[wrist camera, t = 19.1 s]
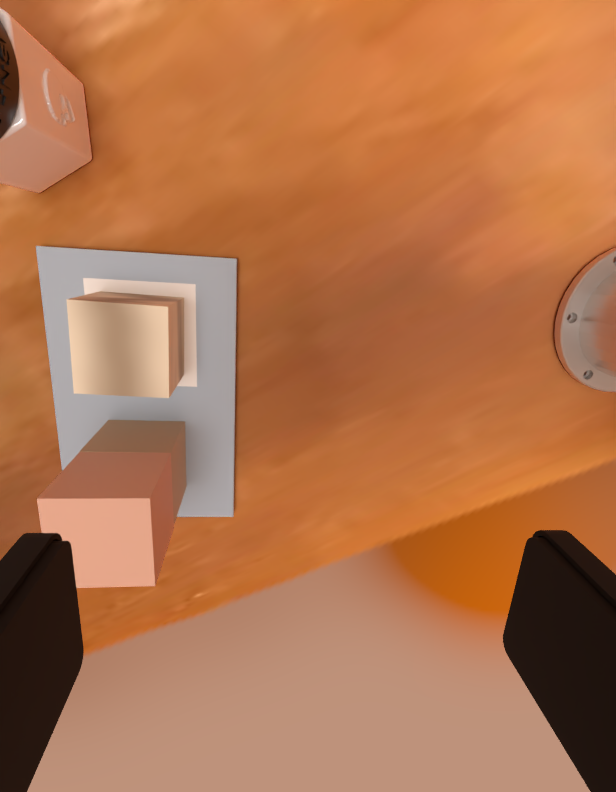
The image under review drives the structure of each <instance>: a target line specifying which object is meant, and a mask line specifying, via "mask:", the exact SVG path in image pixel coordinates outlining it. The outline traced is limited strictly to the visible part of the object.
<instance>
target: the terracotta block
mask: <svg viewBox="0 0 616 792" xmlns="http://www.w3.org/2000/svg"><path fill="white" fill-rule="evenodd" d="M37 503H38V510H39V517H40V524H41V530H42V533H58V534H60V536H61V537H62V541H69V542H70V544H71V547H72V556H73V564H74V573H75V581H76V588H91V587H133V586H155V585H156V582H157V579H158V576H159V573H160V569H161V566H162V563H163V560H164V557H165V554H166V551H167V548H168V545H169V541H170V538H171V535H172V532H173V529H174V516H173V493H172V469H171V453H144V452H79V453H78V454H77V455H76V456H75V458H74V459H73V460H72V461H71V462H70V463H69V464H68V465H67V466H66V467H65V468H64V470H63V471H62V472H61V473H60V474H59V475H58V476H57V477H56V478H55V479H54V480H53V482H52V483H51V484H50V485H49V486H48V487H47V488H46V489H45V490H44V491H43V492H42V494H41V495H40V496H39V497H38V498H37Z"/></svg>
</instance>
